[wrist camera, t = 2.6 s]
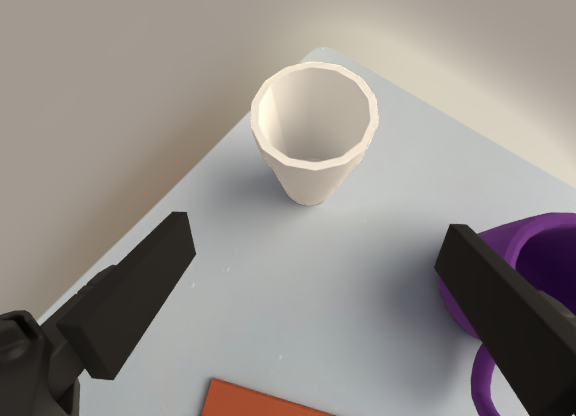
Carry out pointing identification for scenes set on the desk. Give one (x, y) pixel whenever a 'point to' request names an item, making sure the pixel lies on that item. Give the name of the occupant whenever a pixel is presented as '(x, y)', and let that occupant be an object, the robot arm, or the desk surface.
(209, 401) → the mat
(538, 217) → the mug
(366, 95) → the foam cup
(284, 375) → the desk surface
